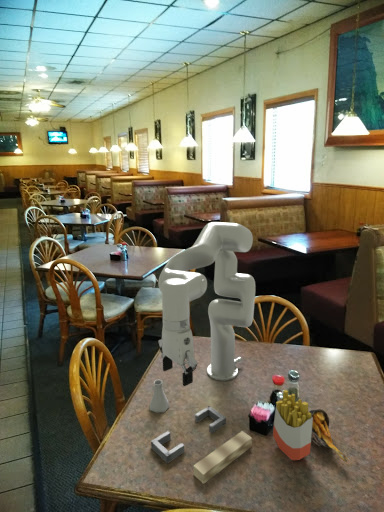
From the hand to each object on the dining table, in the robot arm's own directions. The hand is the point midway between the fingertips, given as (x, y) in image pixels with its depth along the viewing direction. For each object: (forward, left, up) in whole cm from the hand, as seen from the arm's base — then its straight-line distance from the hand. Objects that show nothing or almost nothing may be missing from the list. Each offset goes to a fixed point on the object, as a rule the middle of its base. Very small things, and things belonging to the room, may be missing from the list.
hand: (177, 376), depth 108 cm
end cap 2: (-14, -1, -24) cm, 28 cm away
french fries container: (-23, +24, -24) cm, 41 cm away
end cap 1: (+4, -1, -24) cm, 24 cm away
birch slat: (-6, +13, -24) cm, 28 cm away
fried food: (-33, +29, -24) cm, 50 cm away
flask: (-6, -19, -24) cm, 31 cm away
